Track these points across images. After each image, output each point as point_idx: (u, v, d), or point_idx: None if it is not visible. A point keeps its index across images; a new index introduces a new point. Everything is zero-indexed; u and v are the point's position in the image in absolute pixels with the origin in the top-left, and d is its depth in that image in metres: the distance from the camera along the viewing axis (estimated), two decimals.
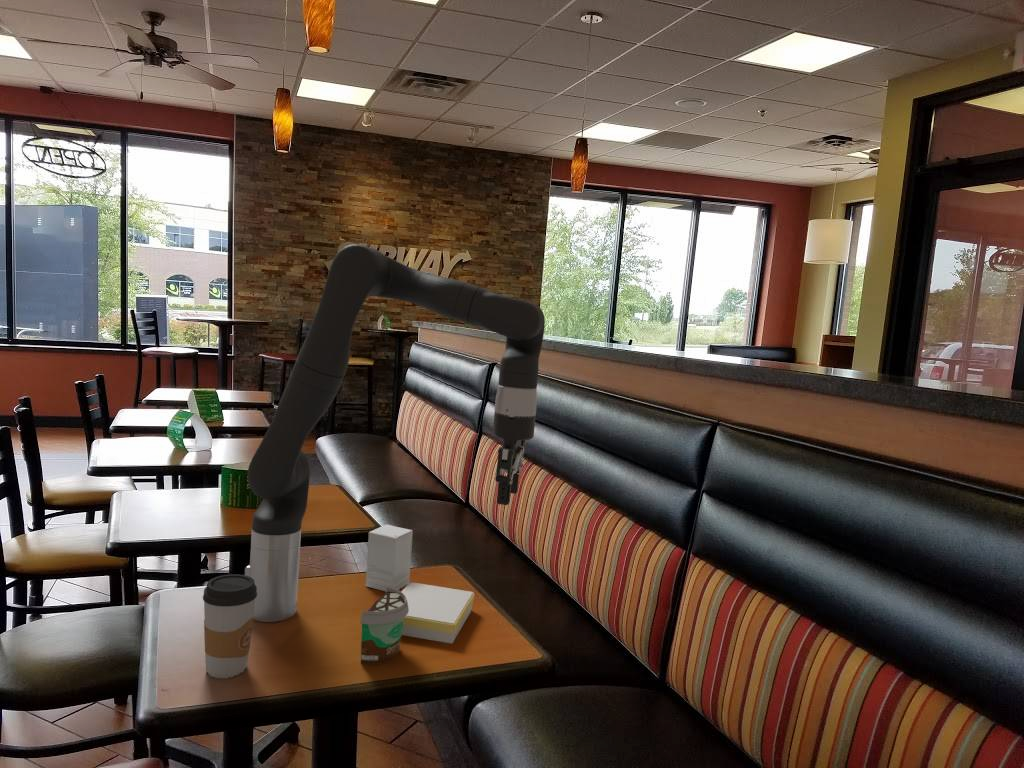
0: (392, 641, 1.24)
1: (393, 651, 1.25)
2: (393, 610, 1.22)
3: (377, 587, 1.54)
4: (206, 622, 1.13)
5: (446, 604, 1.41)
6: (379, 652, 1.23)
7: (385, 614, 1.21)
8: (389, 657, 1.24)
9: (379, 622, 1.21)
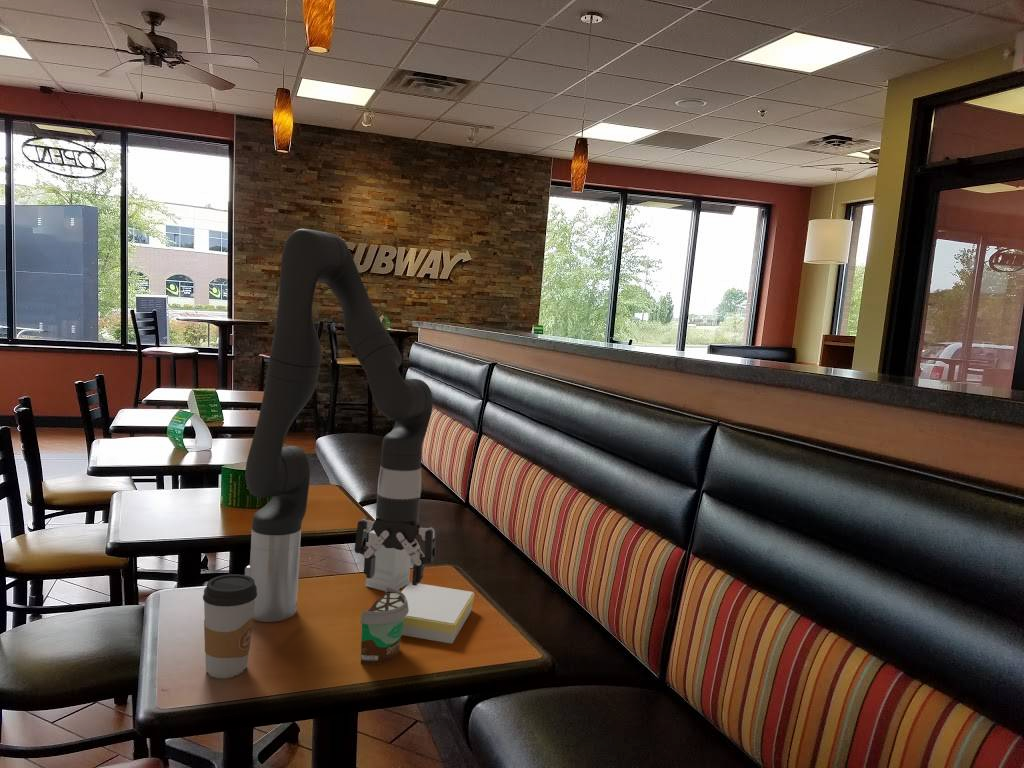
0: (392, 641, 1.24)
1: (393, 651, 1.25)
2: (393, 610, 1.22)
3: (377, 587, 1.54)
4: (206, 622, 1.13)
5: (446, 604, 1.41)
6: (379, 652, 1.23)
7: (385, 614, 1.21)
8: (389, 657, 1.24)
9: (379, 622, 1.21)
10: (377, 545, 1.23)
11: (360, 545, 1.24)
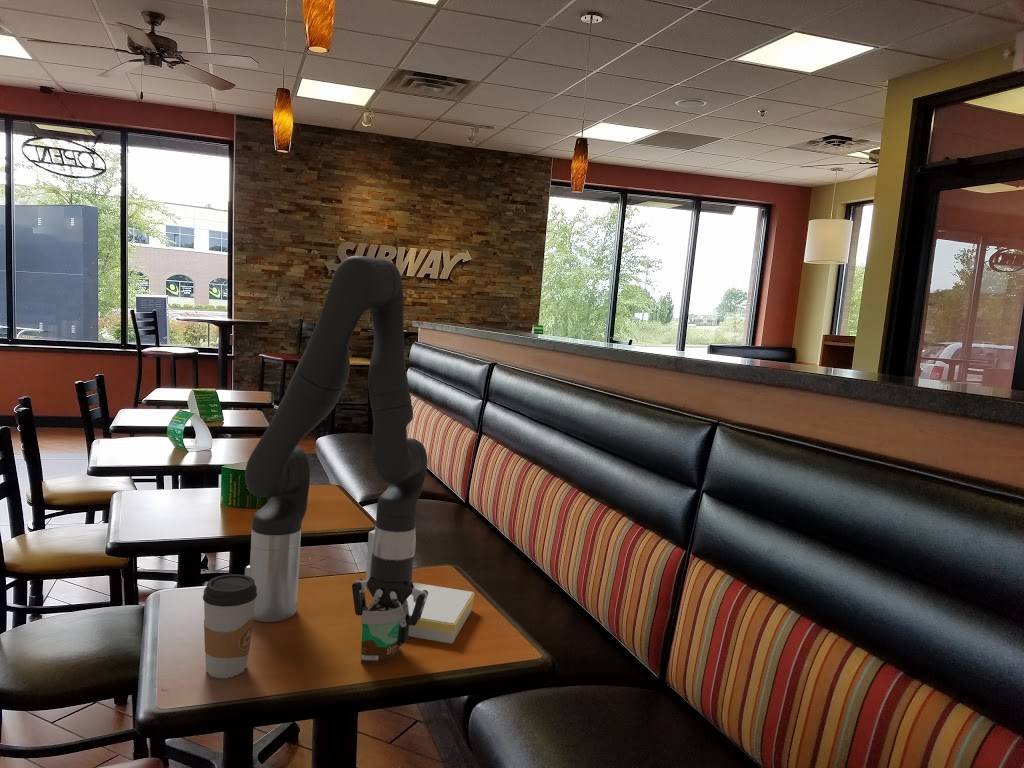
0: (392, 641, 1.24)
1: (393, 651, 1.25)
2: (393, 610, 1.22)
3: None
4: (206, 622, 1.13)
5: (446, 604, 1.41)
6: (379, 652, 1.23)
7: (385, 614, 1.21)
8: (389, 657, 1.24)
9: (379, 622, 1.21)
10: (374, 605, 1.24)
11: (359, 607, 1.25)
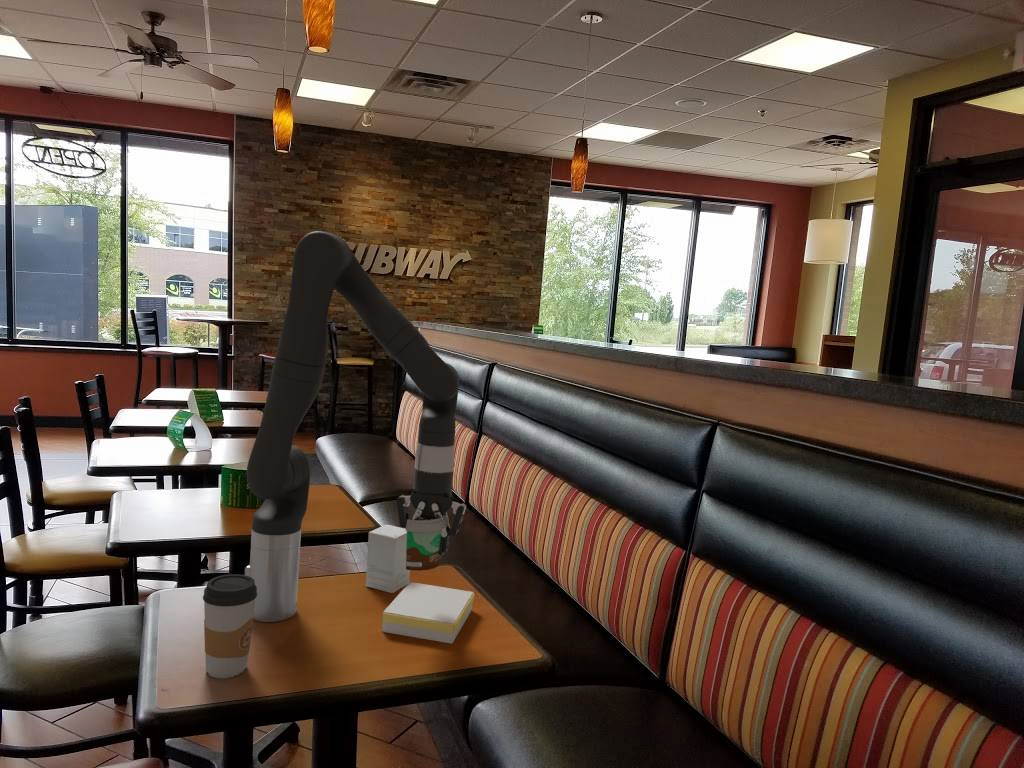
0: (434, 550, 1.34)
1: (435, 560, 1.35)
2: (435, 520, 1.32)
3: (377, 587, 1.54)
4: (206, 622, 1.13)
5: (446, 604, 1.41)
6: (423, 559, 1.33)
7: (428, 523, 1.31)
8: (432, 565, 1.34)
9: (423, 530, 1.31)
10: (417, 517, 1.35)
11: (404, 519, 1.36)
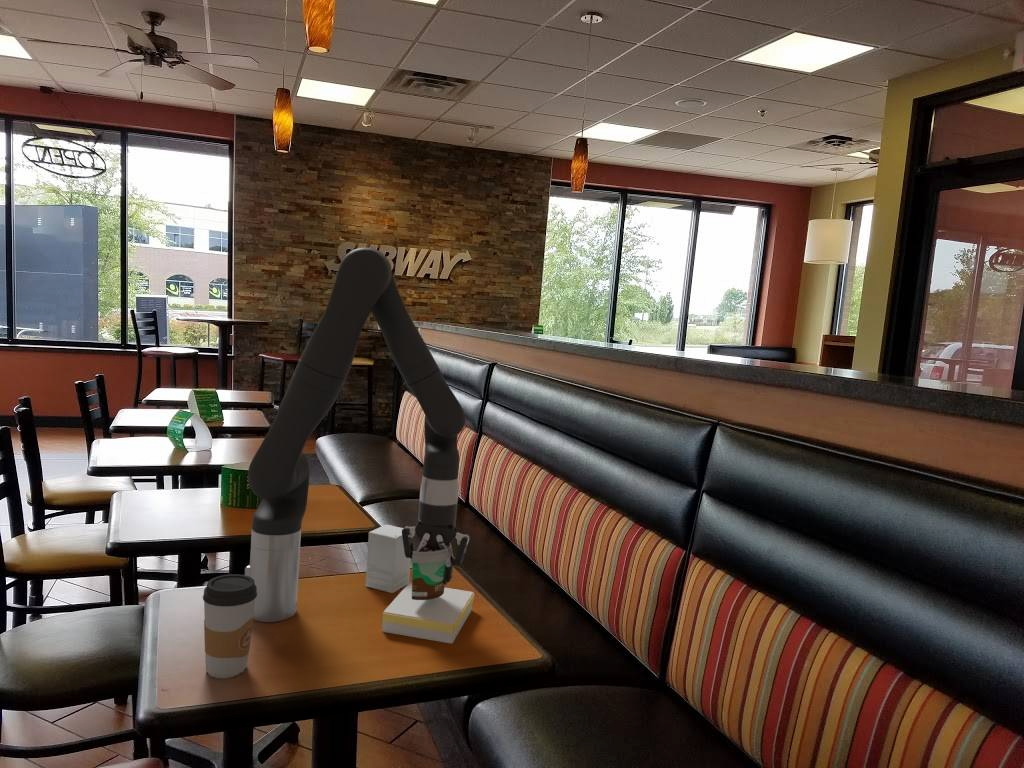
0: (439, 579, 1.38)
1: (440, 589, 1.39)
2: (440, 551, 1.37)
3: (377, 587, 1.54)
4: (206, 622, 1.13)
5: (446, 604, 1.41)
6: (428, 589, 1.37)
7: (433, 554, 1.36)
8: (436, 594, 1.38)
9: (428, 561, 1.35)
10: (422, 548, 1.39)
11: (409, 550, 1.40)
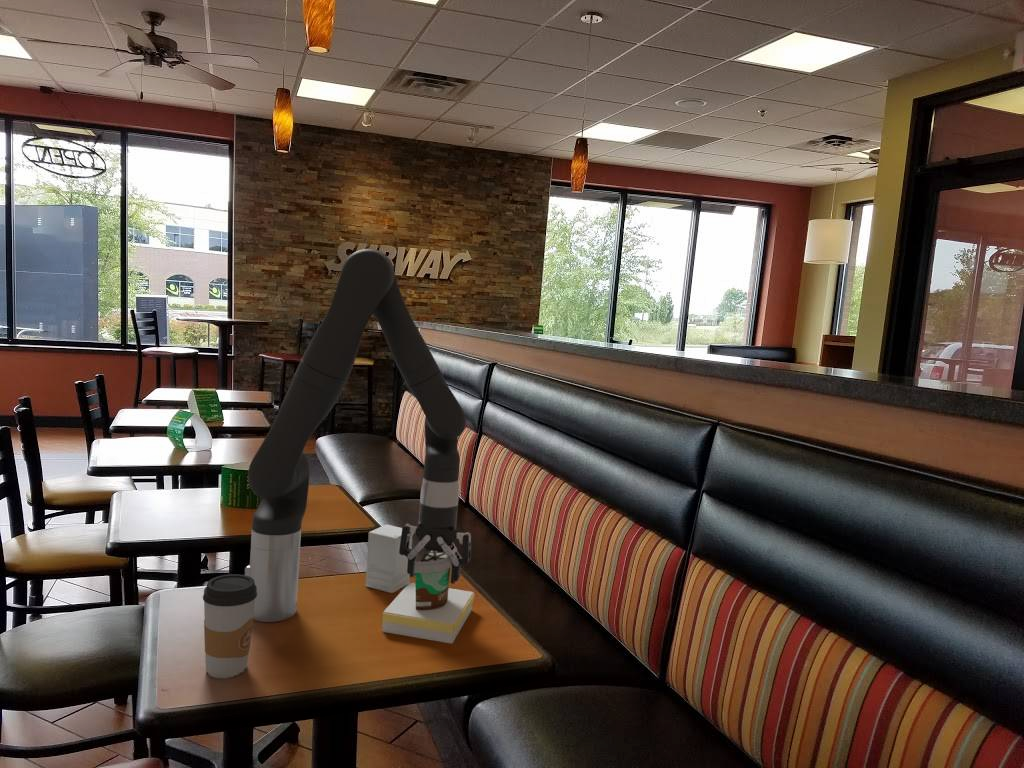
0: (442, 588, 1.38)
1: (443, 598, 1.39)
2: (442, 560, 1.37)
3: (377, 587, 1.54)
4: (206, 622, 1.13)
5: (446, 604, 1.41)
6: (432, 598, 1.37)
7: (435, 563, 1.36)
8: (440, 603, 1.38)
9: (431, 571, 1.35)
10: (419, 548, 1.39)
11: (404, 548, 1.40)
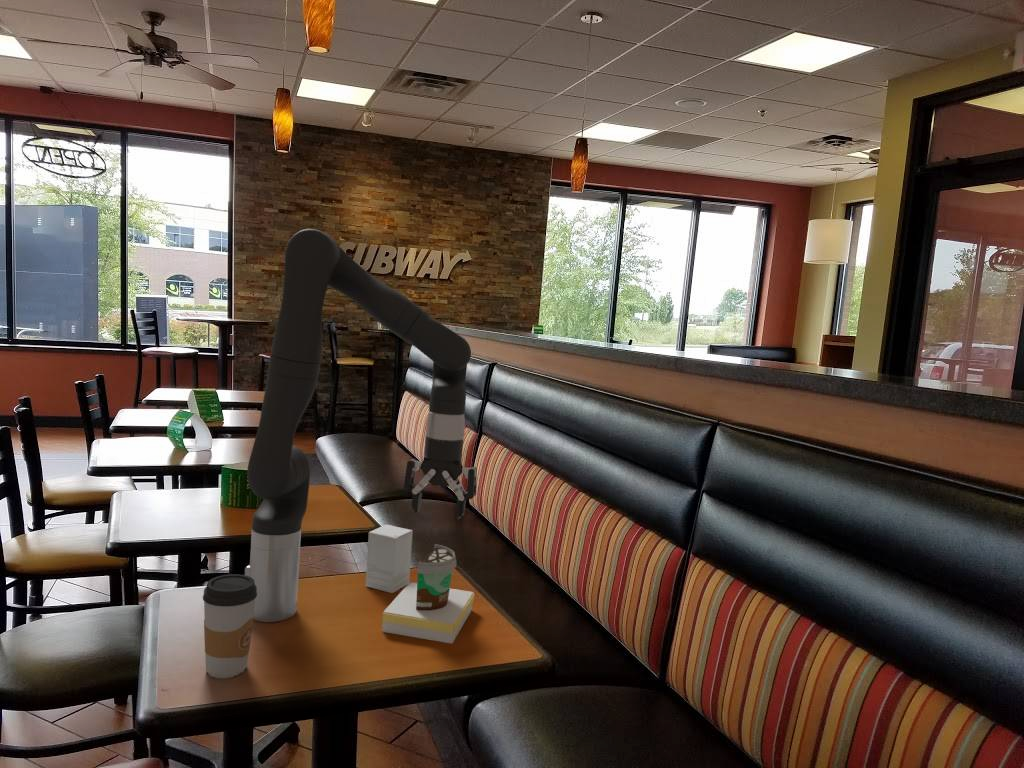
0: (443, 590, 1.38)
1: (444, 599, 1.39)
2: (445, 562, 1.37)
3: (377, 587, 1.54)
4: (206, 622, 1.13)
5: None
6: (432, 600, 1.37)
7: (438, 565, 1.36)
8: (441, 604, 1.38)
9: (433, 572, 1.35)
10: (424, 482, 1.38)
11: (409, 482, 1.39)
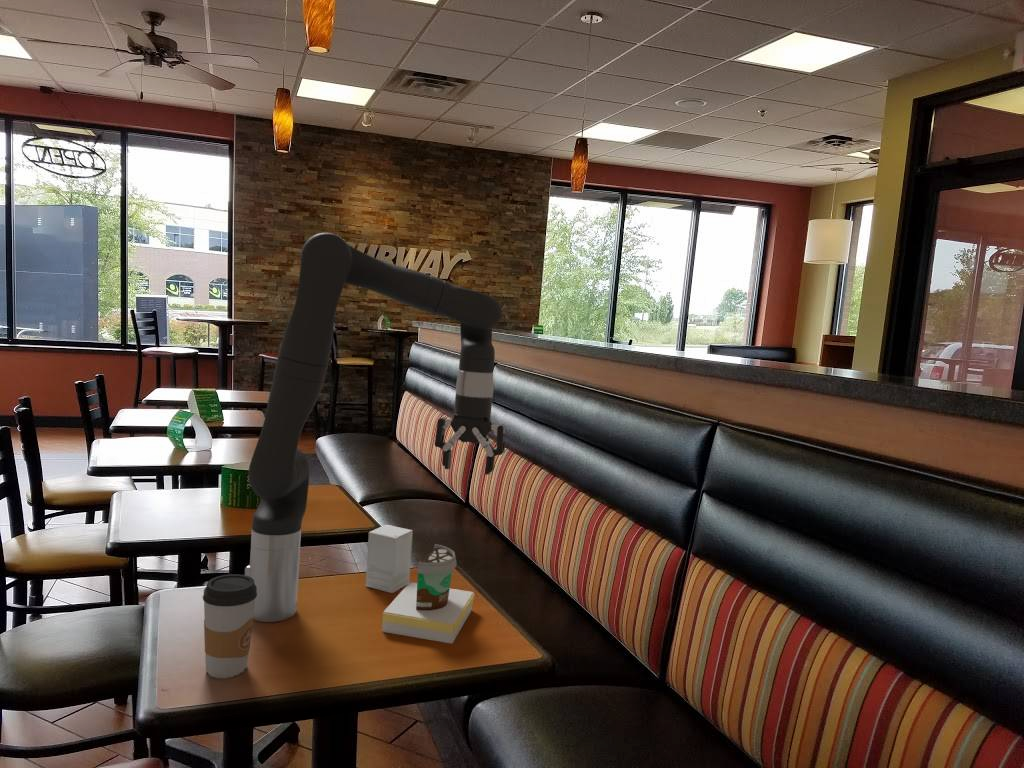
0: (443, 590, 1.38)
1: (444, 599, 1.39)
2: (445, 562, 1.37)
3: (377, 587, 1.54)
4: (206, 622, 1.13)
5: None
6: (432, 600, 1.37)
7: (438, 565, 1.36)
8: (441, 604, 1.38)
9: (433, 572, 1.35)
10: (455, 439, 1.42)
11: (439, 440, 1.43)
